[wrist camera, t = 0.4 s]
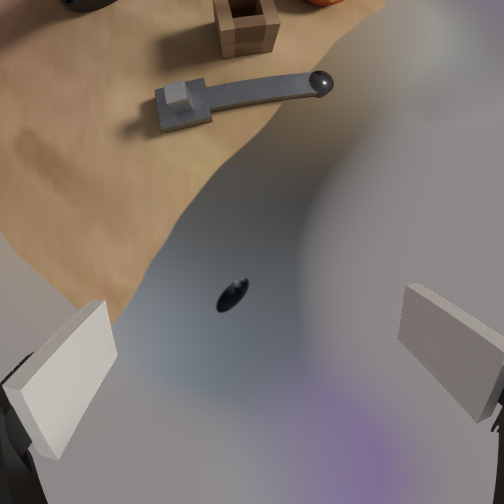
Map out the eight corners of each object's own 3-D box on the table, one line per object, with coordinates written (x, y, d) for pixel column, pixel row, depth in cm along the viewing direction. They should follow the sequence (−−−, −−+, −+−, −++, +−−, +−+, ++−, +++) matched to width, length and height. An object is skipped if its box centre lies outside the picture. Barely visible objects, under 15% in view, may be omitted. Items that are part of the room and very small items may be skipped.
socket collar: (214, 21, 32) (211, -10, 24) (261, 15, 32) (267, -17, 24) (222, 59, 33) (220, 31, 25) (271, 51, 33) (280, 23, 25)
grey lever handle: (159, 95, 34) (144, 78, 27) (324, 68, 34) (340, 48, 27) (165, 132, 35) (151, 121, 28) (333, 103, 35) (352, 88, 28)
